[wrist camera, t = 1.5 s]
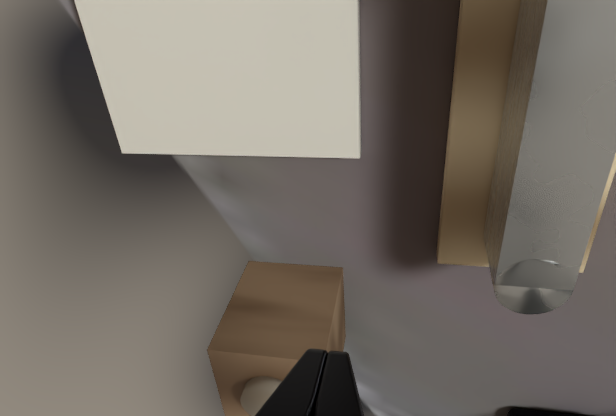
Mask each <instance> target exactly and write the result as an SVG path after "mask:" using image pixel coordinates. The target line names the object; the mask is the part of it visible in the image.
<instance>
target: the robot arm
mask: <svg viewBox="0 0 616 416" xmlns="http://www.w3.org/2000/svg"><path fill="white" fill-rule="evenodd" d="M255 416H364V414H363V410H362V406H361V402H360V398H359V394H358V389H357V385H356V381H355V377H354V373H353V369H352V365H351V361H350V357H349V354H348V353H347V352H342V351H329V352H327V351H326V350H322V349H313V348H310V349H308V350H307V351H306V352H305V353H304V354H303V355H302V357H301V358H300V359H299V360H298V362H297V363H296V364H295V365H294V367H293V368H292V369H291V371H290V372H289V373H288V374H287V376H286V377H285V378H284V379H283V381H282V382H281V383H280V384H279V386H278V387H277V388H276V390H275V391H274V392H273V393H272V395H271V396H270V397H269V398H268V400H267V401H266V402H265V403H264V405H263V406H262V407H261V409H260V410H259V411H258V412H257V414H256V415H255ZM507 416H576V415H567V414H559V413H551V412H542V411H534V410H526V409H511V410H510V411H509V412H508V414H507Z"/></svg>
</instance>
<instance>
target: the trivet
mask: <svg viewBox="0 0 616 416" xmlns="http://www.w3.org/2000/svg"><path fill="white" fill-rule="evenodd" d="M74 1H75V4H76V8H77V11H78V14H79V17H80V20H81V24H82V27H83V30H84V33H85V36H86V40H87V43H88V46H89V49H90V52H91V56H92V59H93V62H94V65H95V68H96V71H97V75H98V78H99V81H100V84H101V88H102V91H103V94H104V97H105V100H106V103H107V107H108V110H109V113H110V116H111V119H112V123H113V125H114V129H115V132H116V135H117V139H118V142H119V145H120V148H121V151H122V153H135V154H182V155H228V156H275V157H321V158H360V155H361V105H360V20H359V0H74Z"/></svg>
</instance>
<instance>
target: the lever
mask: <svg viewBox="0 0 616 416" xmlns="http://www.w3.org/2000/svg"><path fill="white" fill-rule="evenodd" d="M615 154H616V0H521V3H520V9H519V15H518V21H517V28H516V34H515V40H514V47H513V53H512V59H511V65H510V72H509V78H508V84H507V91H506V97H505V103H504V110H503V116H502V122H501V128H500V135H499V141H498V147H497V154H496V160H495V166H494V173H493V179H492V185H491V191H490V198H489V204H488V210H487V217H486V223H485V229H484V243H485V248H486V253H487V258H488V263H489V268H490V272H491V277H492V282H493V287H494V292H495V296H496V298H497V299H498V301H499V302H500V303H501V304H502V305H503V306H504V307H506V308H508V309H509V310H512V311H514V312H517V313H522V314H541V313H545V312H549V311H552V310H554V309H556V308H558V307H560V306H561V305H563V304H564V303H565V302H566V301H567V300H568V299H569V298H570V296H571V295H572V292H573V290H574V286H575V283H576V280H577V277H578V273H579V270H580V267H581V264H582V260H583V257H584V254H585V251H586V248H587V244H588V241H589V238H590V235H591V231H592V228H593V225H594V222H595V218H596V215H597V212H598V209H599V205H600V202H601V199H602V196H603V192H604V189H605V186H606V183H607V180H608V176H609V173H610V170H611V167H612V163H613V160H614V157H615Z"/></svg>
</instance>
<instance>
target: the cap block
mask: <svg viewBox="0 0 616 416" xmlns="http://www.w3.org/2000/svg"><path fill="white" fill-rule="evenodd" d="M345 337H346V335H345V310H344V286H343V268H342V267H327V266H312V265H298V264H283V263H268V262H256V261H249V262H248V264H247V266H246V268H245V270H244V272H243V274H242V276H241V279H240V281H239V283H238V285H237V287H236V289H235V291H234V293H233V296H232V298H231V300H230V302H229V304H228V306H227V309H226V311H225V313H224V315H223V317H222V319H221V321H220V324H219V326H218V328H217V330H216V332H215V334H214V336H213V338H212V340H211V343H210V345H209V347H208V349H207V351H208V355H209V358H210V362H211V366H212V369H213V373H214V377H215V380H216V384H217V387H218V391H219V394H220V399H221V402H222V406H223V410H224V413H225V416H255V415H256V414H257V412H258V411H259V410H260V409H261V407H262V406H263V405H264V403H265V402H266V401H267V400H268V398H269V397H270V396H271V395H272V393H273V392H274V391H275V390H276V388H277V387H278V386H279V384H280V383H281V382H282V381H283V379H284V378H285V377H286V376H287V374H288V373H289V372H290V371H291V369H292V368H293V367H294V365H295V364H296V363H297V362H298V360H299V359H300V358H301V357H302V355H303V354H304V353H305V352H306V351H307V350H308V349H310V348H313V349H322V350H326V351H327V352H329V351H342V352H343V349H344V343H345Z"/></svg>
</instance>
